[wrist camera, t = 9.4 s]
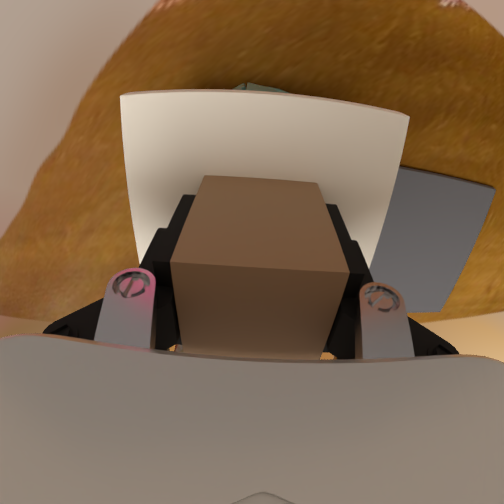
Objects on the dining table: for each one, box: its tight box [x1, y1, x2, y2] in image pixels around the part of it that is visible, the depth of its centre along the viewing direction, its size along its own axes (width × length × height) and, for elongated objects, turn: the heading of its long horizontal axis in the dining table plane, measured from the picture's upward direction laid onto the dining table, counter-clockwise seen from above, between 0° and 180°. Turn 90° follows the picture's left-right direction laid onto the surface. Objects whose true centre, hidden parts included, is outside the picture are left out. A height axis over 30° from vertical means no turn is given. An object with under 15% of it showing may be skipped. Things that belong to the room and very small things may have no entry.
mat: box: [369, 166, 496, 313], centre depth 22 cm, size 13×13×1 cm
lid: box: [120, 89, 410, 360], centre depth 10 cm, size 10×10×6 cm
